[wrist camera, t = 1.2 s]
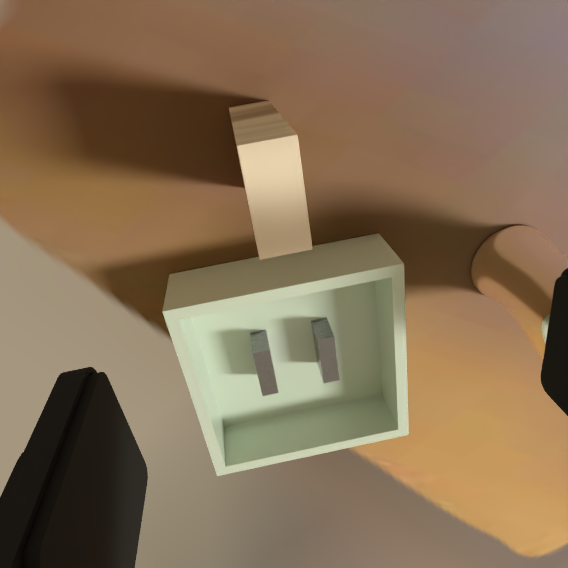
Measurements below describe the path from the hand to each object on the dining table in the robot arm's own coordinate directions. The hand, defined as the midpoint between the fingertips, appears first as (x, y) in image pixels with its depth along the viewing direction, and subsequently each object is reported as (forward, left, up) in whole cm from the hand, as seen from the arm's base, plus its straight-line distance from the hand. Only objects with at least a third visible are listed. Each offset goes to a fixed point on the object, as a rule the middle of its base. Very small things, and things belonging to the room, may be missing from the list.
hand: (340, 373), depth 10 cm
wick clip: (+15, 0, -22) cm, 27 cm away
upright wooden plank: (0, 0, -22) cm, 22 cm away
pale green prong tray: (+15, 0, -22) cm, 27 cm away
